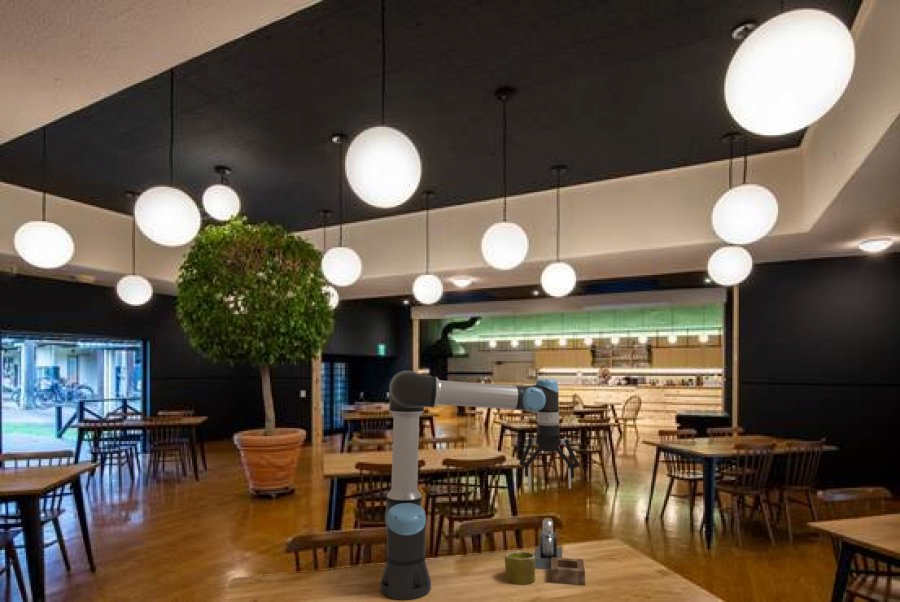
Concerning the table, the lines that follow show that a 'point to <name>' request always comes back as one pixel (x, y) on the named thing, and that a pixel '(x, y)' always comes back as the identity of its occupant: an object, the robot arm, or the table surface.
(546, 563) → the block
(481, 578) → the table surface
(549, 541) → the brushed metal rod
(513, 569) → the mug
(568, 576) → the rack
